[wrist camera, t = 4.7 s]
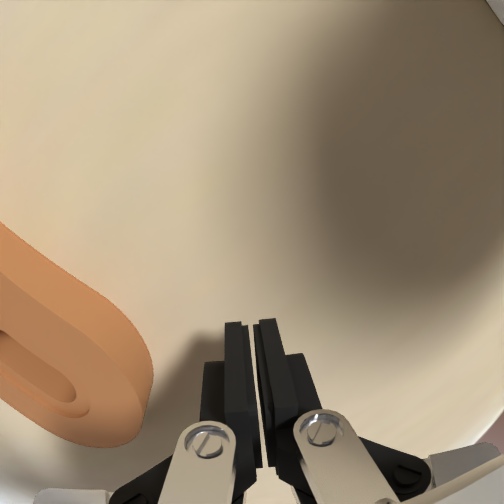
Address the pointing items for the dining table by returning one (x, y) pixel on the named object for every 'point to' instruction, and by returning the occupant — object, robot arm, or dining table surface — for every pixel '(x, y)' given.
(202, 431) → the robot arm
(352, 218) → the dining table surface
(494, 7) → the utensil holder
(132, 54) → the dining table surface
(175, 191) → the dining table surface
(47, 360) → the bracket
